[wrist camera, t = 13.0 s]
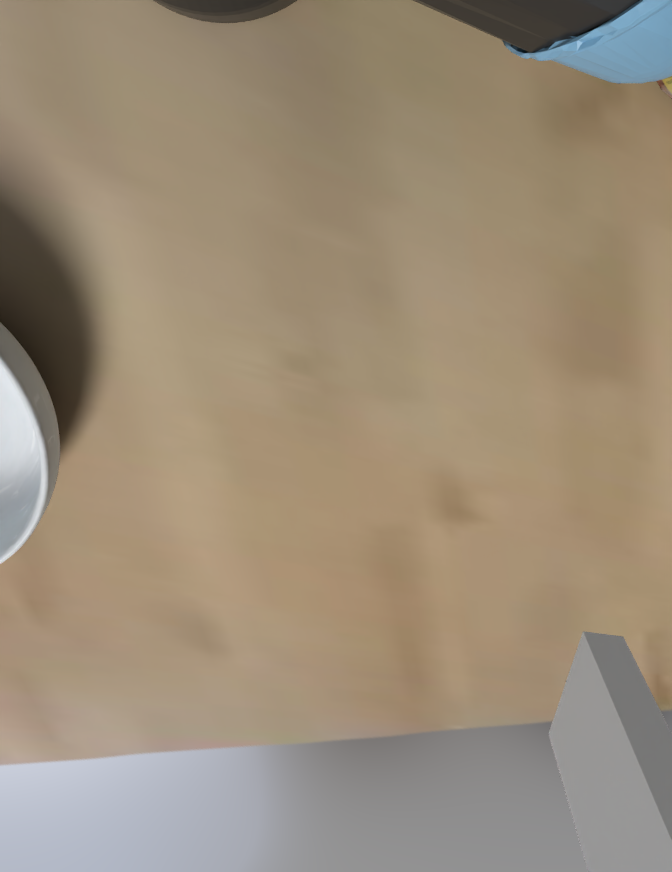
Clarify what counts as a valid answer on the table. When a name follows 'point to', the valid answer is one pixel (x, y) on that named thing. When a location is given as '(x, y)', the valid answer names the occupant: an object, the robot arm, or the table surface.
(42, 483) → the serving bowl
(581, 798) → the robot arm
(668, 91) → the sauce bottle
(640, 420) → the table surface
